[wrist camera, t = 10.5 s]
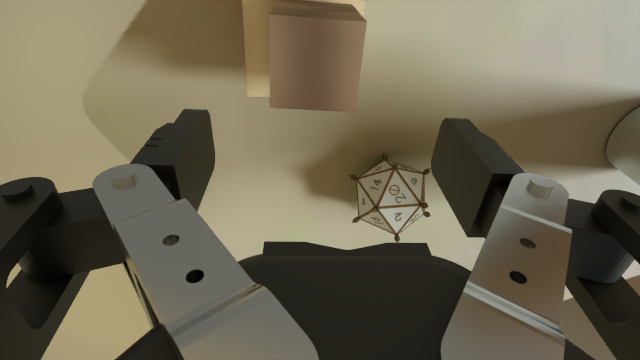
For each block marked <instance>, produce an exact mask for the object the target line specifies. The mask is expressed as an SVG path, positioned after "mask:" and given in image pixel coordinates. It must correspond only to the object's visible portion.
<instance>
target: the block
mask: <svg viewBox="0 0 640 360" xmlns="http://www.w3.org/2000/svg"><path fill="white" fill-rule="evenodd" d="M366 25H367V21H366V20H365V19H364V18H363V17H362V15H361V14H360V13H359V12H358V11H357V9H356V8H355V7H354V6H353V5H352V4H342V3H329V2H317V1H304V0H275V2H274V4H273V7H272V9H271V12H270V14H269V33H270V108H286V109H305V110H324V111H343V112H354V109H355V102H356V95H357V88H358V81H359V74H360V67H361V60H362V53H363V46H364V39H365V32H366Z"/></svg>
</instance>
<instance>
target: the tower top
mask: <svg viewBox="0 0 640 360" xmlns="http://www.w3.org/2000/svg"><path fill="white" fill-rule="evenodd" d="M304 1H317V2H329V3H342V4H352V5H353V6H354V7H355V8H356V9H357V11H358V12H359V13H360V14H361V15H362V17H363V14H364V6H365V0H304ZM274 2H275V0H242V11H243V30H244V49H245V68H246V87H247V96H252V97H270V33H269V14H270V12H271V9H272V7H273V4H274Z"/></svg>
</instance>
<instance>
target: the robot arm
mask: <svg viewBox="0 0 640 360" xmlns="http://www.w3.org/2000/svg"><path fill="white" fill-rule="evenodd" d="M606 156H607V159H608V161H609V162H610V163H611V164H612V165H613V166H614V167H615V168H617V169H618V170H620V171H621V172H622V173H624V174H625V175H626V176H628V177H629V178H631V179H632V180H633V181H635V182H636V183H638V184H639V185H640V107H638V108H636V109H635V110H633V111H632V112H631V113H630V114H628V115H627V116H626V117H625V118H624V119H623V120H622V121H621V122H620V123H619V124H618V125H617V126H616V128H615V129H614V131H613V132H612V134H611V136H610V138H609V140H608V142H607V147H606ZM214 165H215V150H214V142H213V135H212V127H211V120H210V114H209V112H208V110H196V109H184V110H183V111H182V112H181V114H180V115H179V117H178V118H177V119H176V121H175V122H174V123H167V124H165V125H164V126H162V127H160V128H158V129H157V130H155V132H154V133H153V134H152V136H151V137H150V140H148V141H147V142H146V143H145V145H144V147H142V148H141V150H140V151H139V152H138V154H137V155H136V156H135V158H134V159H133V160H132V161H131V163H130V164H126V165H120V166H116V167H113V168H110V169H108V170H106V171H104V172H102V173H101V174H99V175H98V176H97V177H96V178H95V179H94V181H93V188H89V189H83V190H77V191H70V192H64V193H58V191H57V189H56V187H55V185H54V183H53V182H52V181H51V180H49V179H47V178H42V177H31V178H30V177H29V178H22V179H18V180H14V181H10V182H8V183H5V184H3V185H0V360H41V358H42V356H43V354H44V352H45V351H46V349H47V347H48V345H49V344H50V341H51V340H52V338H53V336H54V335H55V333H56V331H57V329H58V328H59V326H60V324H61V322H62V320H63V319H64V317H65V315H66V313H67V311H68V310H69V308H70V306H71V304H72V303H73V301H74V299H75V297H76V295H77V294H78V292H79V290H80V288H81V286H82V285H83V283H84V281H85V279H86V278H87V276H88V274H89V272H90V270H95V269H99V268H103V267H107V266H112V265H117V264H121V263H122V264H123V266H124V269H125V271H126V273H127V275H128V277H129V279H130V282H131V284H132V286H133V288H134V290H135V292H136V294H137V297H138V298H139V301H140V303H141V305H142V307H143V309H144V311H145V314H146V316H147V318H148V321H149V323H150V326H151V328H152V329H151V330H150V331H149V332H147V333H146V334H145V335H144V336H143V337H141V338H140V339H139V340H138V341H137V342H135V343H134V344H133V345H132V346H131V347H129V348H128V349H127V350H126V351H125V352H124V353H122V354H121V355H120V356H119V357H118V358H117V359H115V360H595V359H594V358H592V357H591V356H590V355H588V354H587V353H585V352H584V351H583V350H581V349H580V348H578V347H577V346H575V345H574V344H573V343H571V342H570V341H569V340H567V339H566V338H565V336H564V334H563V332H561V331H560V320H561V312H562V304H563V297H564V290H565V285H566V287H567V288H568V290H569V291H570V293H571V294H572V295H573V297H574V298H575V300H576V301H577V303H578V304H579V306H580V307H581V308H582V310H583V311H584V313H585V314H586V316H587V317H588V318H589V320H590V321H591V323H592V324H593V326H594V327H595V329H596V330H597V332H598V333H599V335H600V336H601V337H602V339H603V340H604V342H605V343H606V345H607V346H608V348H609V349H610V350H611V352H612V353H613V355H614V356H615V358H616V359H617V360H640V296H639V295H638V294H637V293H636V292H635V291H634V289H633V288H632V287H631V286H630V285H629V284H628V283H627V281H626V280H625V279H624V278H623V277H622V274H623V273H624V272H625V271H626V269H627V268H628V267H629V266H630V265H631V263H632V262H633V261H634V260H636V261H637V262H638V263H639V264H640V196H639V195H636V194H633V193H630V192H626V191H622V190H606V191H604V192H602V194H601V195H600V197H599V199H598V200H597V202H596V203H595V204H594V203H589V202H584V201H579V200H574V199H569V194H568V192H567V190H566V189H565V188H564V187H563V186H562V185H561V184H559V183H558V182H556V181H554V180H552V179H550V178H548V177H545V176H542V175H538V174H533V173H525V172H524V171H523V170H522V169H521V168H520V167H519V166H518V165H517V164H516V163H515V162H514V161H513V160H512V158H511V157H508V154H507V153H506V152H505V151H504V150H502V148H501V147H500V146H499V145H498V144H497V143H496V142H495V141H494V140H493V139H491V138H489V137H488V136H486V135H484V134H482V133H481V132H480V131H479V130H478V129H477V128H476V127H475V126H474V125H473V124H472V123H471V122H470V120H468V119H457V118H445V119H444V120H443V121H442V124H441V126H440V130H439V134H438V137H437V141H436V145H435V148H434V152H433V156H432V161H431V169H432V174H433V176H434V178H435V179H436V181H437V183H438V185H439V187H440V189H441V190H442V192H443V194H444V196H445V198H446V199H447V201H448V203H449V205H450V207H451V208H452V210H453V212H454V214H455V216H456V217H457V219H458V221H459V223H460V225H461V226H462V228H463V230H464V232H465V234H466V235H467V237H484V238H485V242H484V244H483V246H482V249H481V251H480V253H479V255H478V258H477V260H476V262H475V265H474V267H473V269H472V271H470V270H468V269H466V268H464V267H462V266H460V265H458V264H456V263H454V262H451V261H449V260H446V259H443V258H440V257H436V256H432V255H431V253H430V250H429V248H428V246H427V243H384V244H379V245H374V246H368V247H363V248H358V249H353V250H343V249H338V248H333V247H328V246H323V245H318V244H313V243H308V242H264V248H263V254H260V255H255V256H252V257H249V258H246V259H243V260H241V261H238V262H237V261H236V260H235V258H234V257H233V256H232V255H231V253H230V252H229V251H228V250H227V249H226V247H225V246H224V245H223V244H222V242H221V241H220V240H219V239H218V237H217V236H216V235H215V234H214V232H213V231H212V230H211V229H210V227H209V226H208V225H207V224H206V223H205V221H204V220H203V219H202V218H201V216H200V215H199V214H198V213H197V211H198V208H199V206H200V203H201V200H202V198H203V195H204V193H205V190H206V188H207V185H208V182H209V180H210V177H211V175H212V172H213V170H214ZM17 263H18V264H19V265H20V267H21V268H22V269H21V271H20V272H19V273H18V275H17V276H16V277H15V278H14V280H13V281H12V282H11V284H10V285H9V286H8V288H7V289H6V284H7V279H8V276H9V274H10V272H11V270H12V269H13V268H14V266H15V265H16V264H17Z"/></svg>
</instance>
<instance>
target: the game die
mask: <svg viewBox="0 0 640 360" xmlns="http://www.w3.org/2000/svg"><path fill="white" fill-rule="evenodd" d="M382 157H383V159H384V161H382V162H381V163H379V164H378V165H376V166H375V167H373V168H372V169H370V170H369V171H367V172H366V173H364V174H363V175H361V176H360V177H356V176H355V175H350V177H351V179H353V180H356V183H357V201H358V217H355V218H354V220H353V222H352V223H357V222H358V221H359V220H360V219H361V220H363V221H365V222H368V223H370V224H372V225H374V226H377V227H379V228H381V229H383V230H386V231H388V232H390V233H392V234H395V237H394V238H395V240H396V242H397V243H398V242H399V240H400V238H399V235H398V234H399V233H400V232H402V231H403V230H404V229H405V228H407V227H408V226H409V225H410V224H412V223H413V222H414V221H415V220H417V219H418V218H419V217H420V216H422V215H423V214H424V216H426V217H429V216H431V215H430V213H429V212H427V211H426V212H425V208H427V207H429V206H428V205H427V203H425V186H424V175H425V174H428V173H429V172H430V169H426V170H424V171H423V172H420V171H417V170H414V169H412V168H409V167H406V166H403V165H400V164H398V163H397V162H396V161H395V162H392V161H389V160H387V155H386V154H385V152H384V154H383V156H382Z"/></svg>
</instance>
